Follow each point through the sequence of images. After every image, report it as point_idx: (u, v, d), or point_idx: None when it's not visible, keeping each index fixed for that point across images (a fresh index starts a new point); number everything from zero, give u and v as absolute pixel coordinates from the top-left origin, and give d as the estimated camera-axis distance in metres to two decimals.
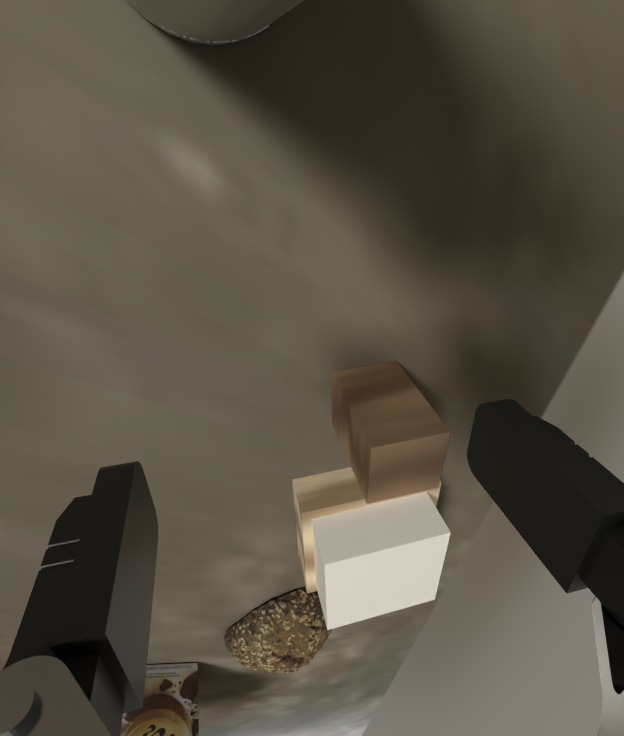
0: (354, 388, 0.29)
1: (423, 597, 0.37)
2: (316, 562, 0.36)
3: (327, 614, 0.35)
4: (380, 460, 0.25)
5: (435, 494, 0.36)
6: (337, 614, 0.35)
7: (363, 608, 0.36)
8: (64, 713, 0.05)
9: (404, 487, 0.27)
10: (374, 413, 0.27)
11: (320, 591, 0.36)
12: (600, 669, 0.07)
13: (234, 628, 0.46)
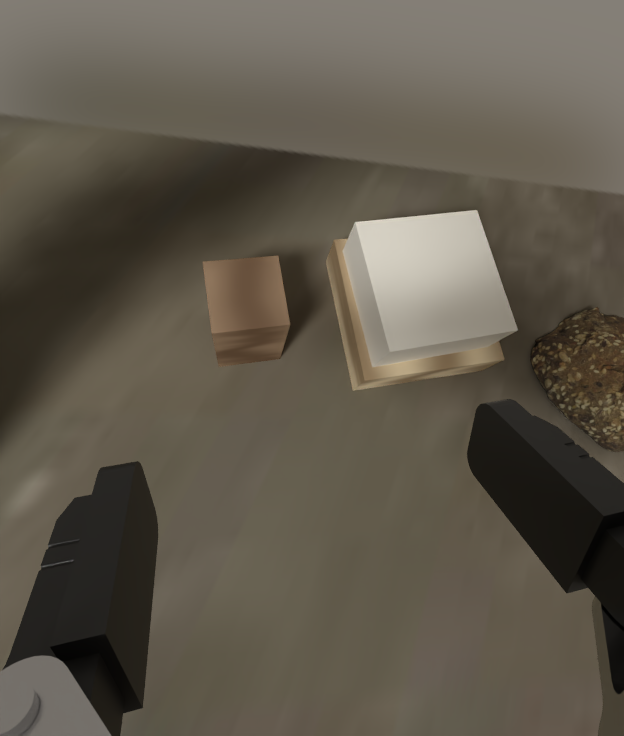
0: None
1: (470, 225, 0.32)
2: (432, 354, 0.32)
3: (485, 334, 0.30)
4: (229, 321, 0.27)
5: None
6: (486, 322, 0.30)
7: (480, 292, 0.31)
8: (64, 713, 0.05)
9: (271, 290, 0.28)
10: None
11: (471, 344, 0.32)
12: (600, 669, 0.07)
13: (596, 439, 0.37)
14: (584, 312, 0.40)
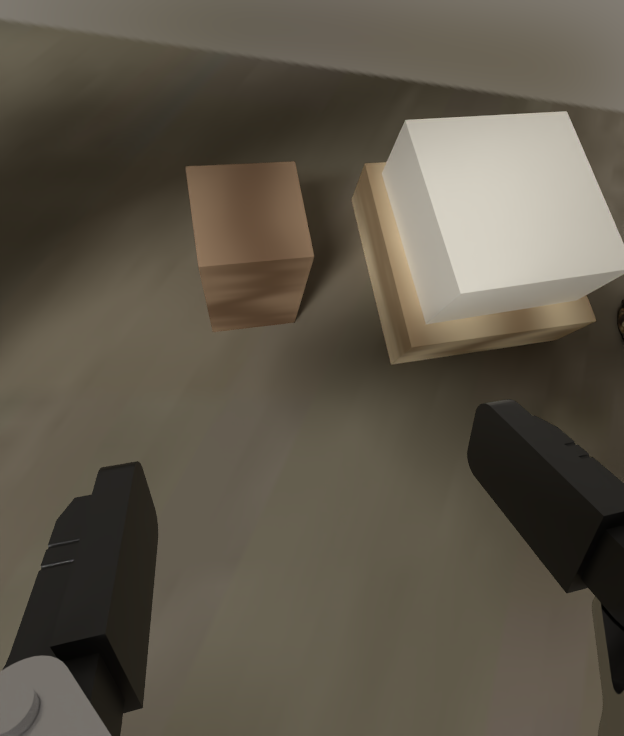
0: None
1: (559, 130, 0.24)
2: (508, 306, 0.24)
3: (590, 273, 0.21)
4: (225, 250, 0.18)
5: None
6: (591, 257, 0.22)
7: (579, 217, 0.22)
8: (64, 713, 0.05)
9: (286, 209, 0.19)
10: None
11: (563, 291, 0.23)
12: (600, 669, 0.07)
13: None
14: None
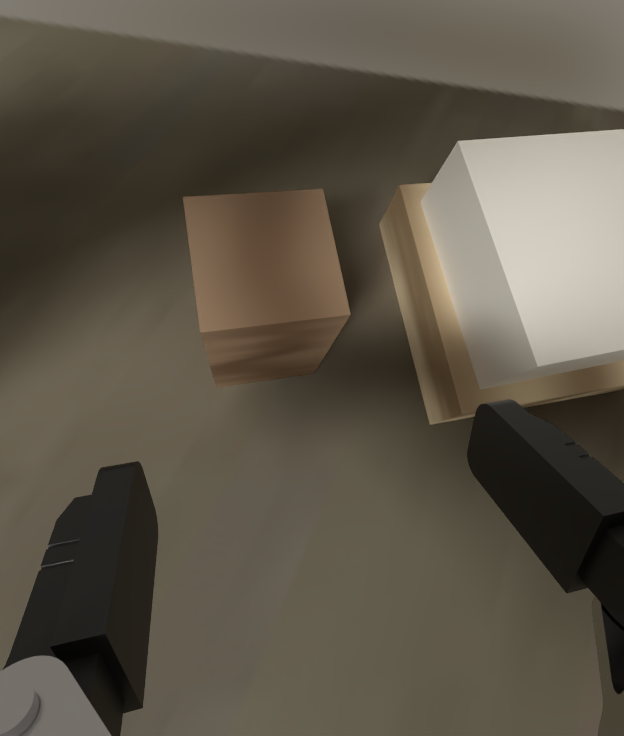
0: None
1: None
2: (580, 367, 0.19)
3: None
4: (235, 309, 0.14)
5: None
6: None
7: None
8: (64, 713, 0.05)
9: (313, 251, 0.15)
10: None
11: None
12: (600, 669, 0.07)
13: None
14: None
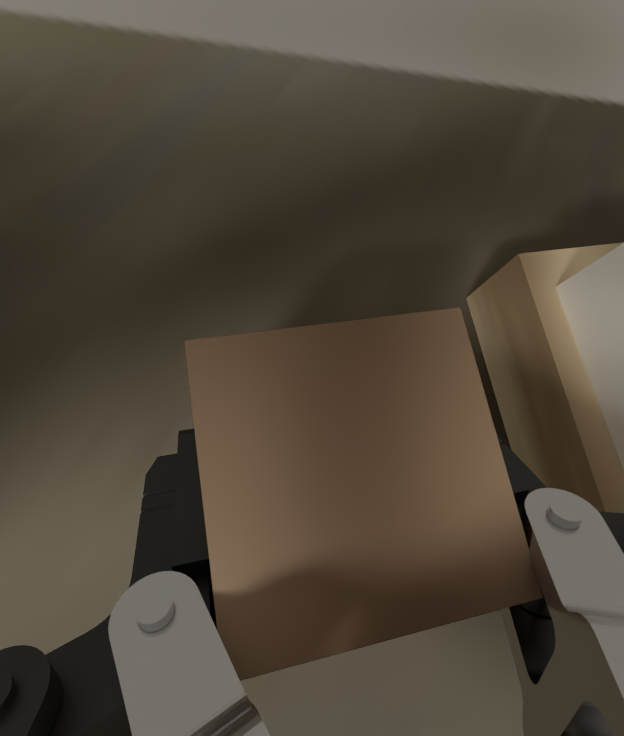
0: None
1: None
2: None
3: None
4: (300, 611, 0.06)
5: (561, 258, 0.14)
6: None
7: None
8: (198, 612, 0.06)
9: (454, 449, 0.07)
10: None
11: None
12: (514, 657, 0.07)
13: None
14: None
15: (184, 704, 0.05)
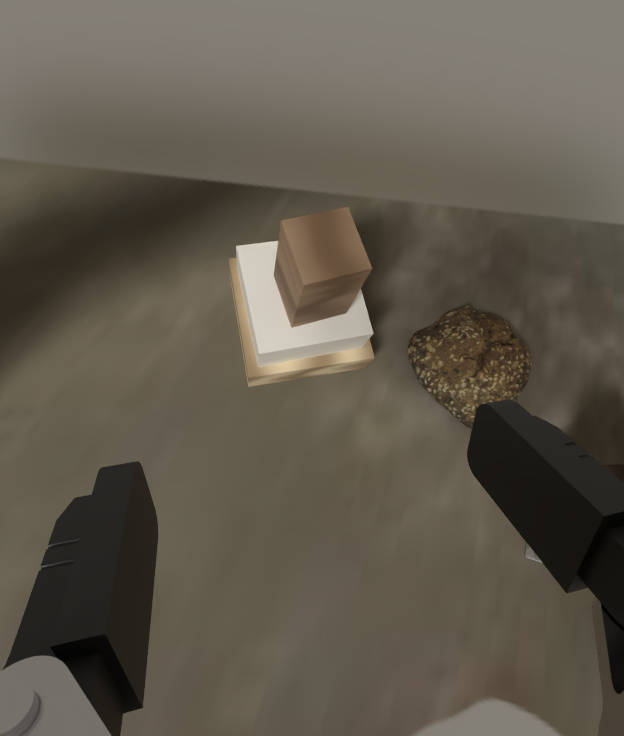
0: (290, 307, 0.33)
1: None
2: (308, 355, 0.38)
3: (344, 338, 0.36)
4: (317, 272, 0.28)
5: None
6: (346, 327, 0.36)
7: None
8: (64, 713, 0.05)
9: (349, 239, 0.29)
10: (293, 286, 0.31)
11: (340, 346, 0.38)
12: (600, 669, 0.07)
13: (459, 418, 0.43)
14: (458, 309, 0.46)
15: None
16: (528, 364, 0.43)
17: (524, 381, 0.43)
